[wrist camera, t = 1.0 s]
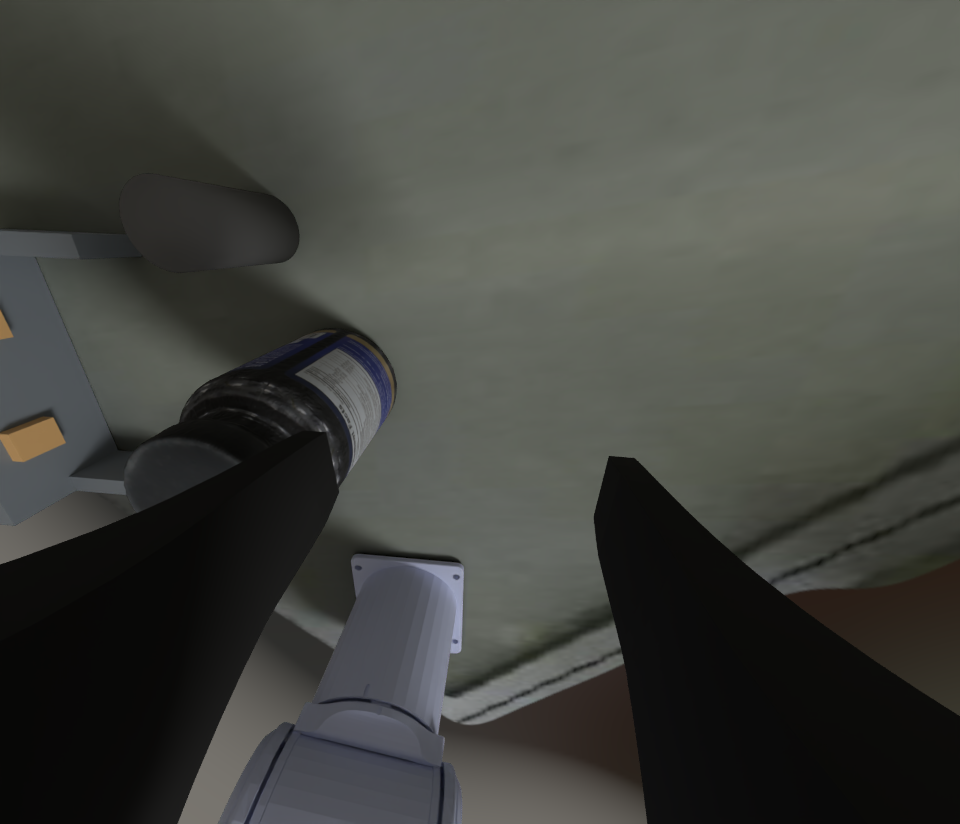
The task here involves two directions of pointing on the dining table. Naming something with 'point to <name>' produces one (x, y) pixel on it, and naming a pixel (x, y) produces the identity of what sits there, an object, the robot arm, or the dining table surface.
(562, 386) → the dining table surface
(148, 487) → the pill bottle
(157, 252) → the post
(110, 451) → the rectangular block
